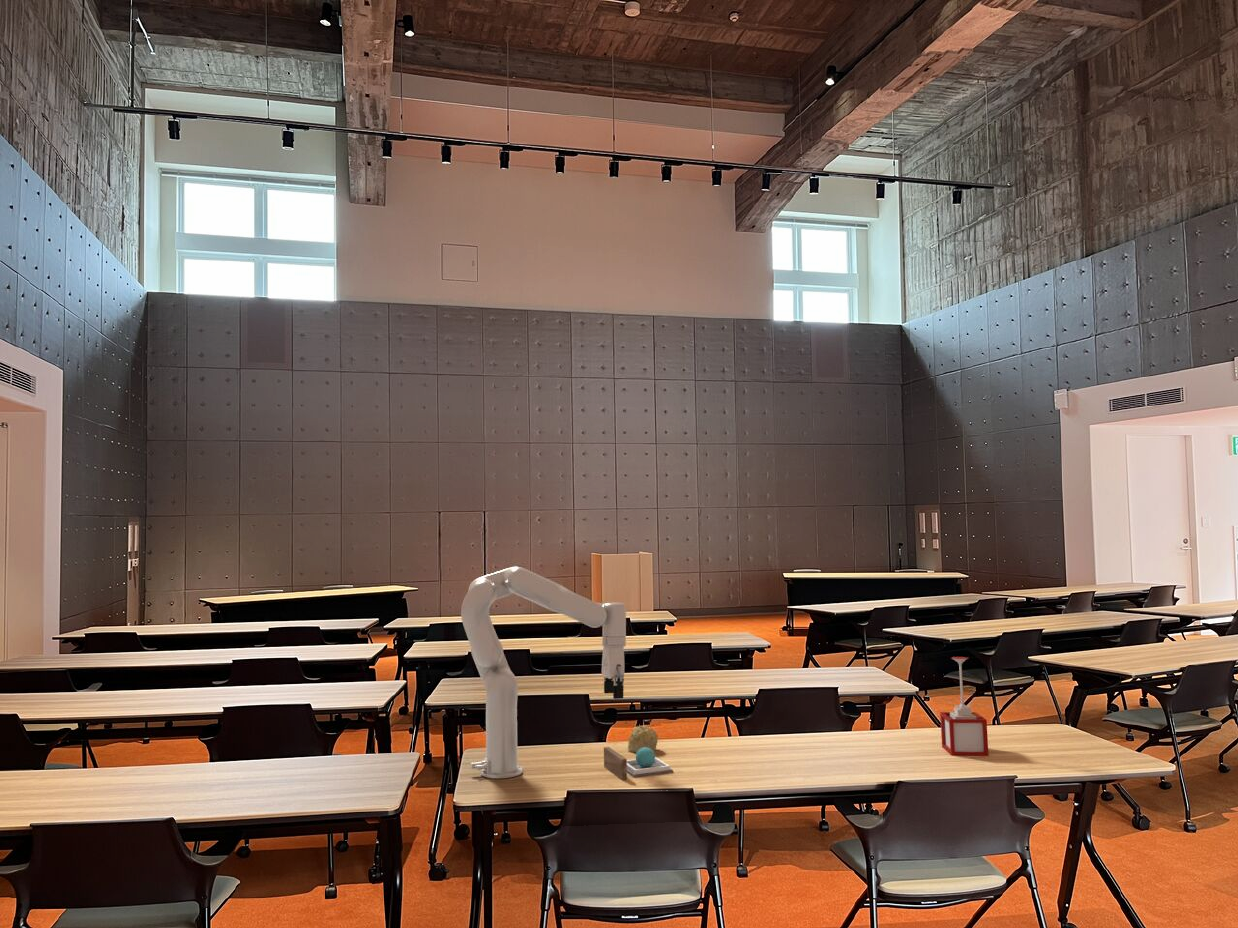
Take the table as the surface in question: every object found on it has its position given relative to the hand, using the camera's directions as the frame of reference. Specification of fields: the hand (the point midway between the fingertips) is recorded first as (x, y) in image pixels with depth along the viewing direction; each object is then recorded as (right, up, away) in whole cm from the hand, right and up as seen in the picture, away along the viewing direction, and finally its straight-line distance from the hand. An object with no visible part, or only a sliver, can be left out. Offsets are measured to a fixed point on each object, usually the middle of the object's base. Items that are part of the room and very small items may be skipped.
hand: (613, 695), depth 270 cm
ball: (+10, -17, -9) cm, 21 cm away
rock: (+10, -23, +14) cm, 29 cm away
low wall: (+1, -20, -13) cm, 24 cm away
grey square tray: (+10, -20, -9) cm, 24 cm away
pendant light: (+115, -20, +5) cm, 116 cm away
